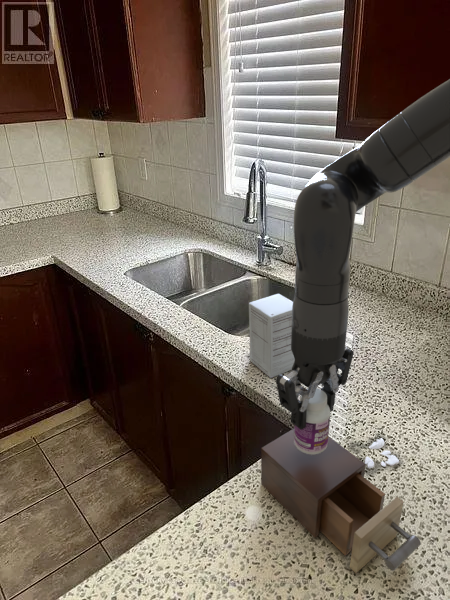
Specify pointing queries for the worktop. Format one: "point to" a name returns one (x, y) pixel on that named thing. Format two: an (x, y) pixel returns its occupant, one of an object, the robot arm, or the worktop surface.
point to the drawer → (364, 524)
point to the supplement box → (271, 334)
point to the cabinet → (305, 476)
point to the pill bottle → (314, 425)
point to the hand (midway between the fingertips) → (312, 417)
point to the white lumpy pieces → (378, 445)
